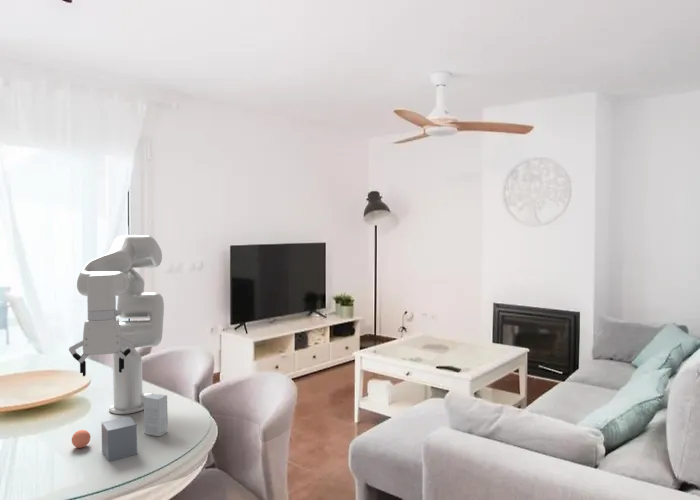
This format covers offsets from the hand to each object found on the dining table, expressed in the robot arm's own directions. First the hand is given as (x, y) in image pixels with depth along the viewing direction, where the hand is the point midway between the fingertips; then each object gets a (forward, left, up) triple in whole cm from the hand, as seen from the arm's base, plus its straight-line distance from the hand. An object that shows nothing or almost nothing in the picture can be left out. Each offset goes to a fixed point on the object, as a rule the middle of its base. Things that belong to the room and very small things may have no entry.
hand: (102, 373), depth 154 cm
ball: (+5, -5, -20) cm, 21 cm away
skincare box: (-16, -2, -23) cm, 28 cm away
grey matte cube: (-3, +6, -23) cm, 23 cm away
